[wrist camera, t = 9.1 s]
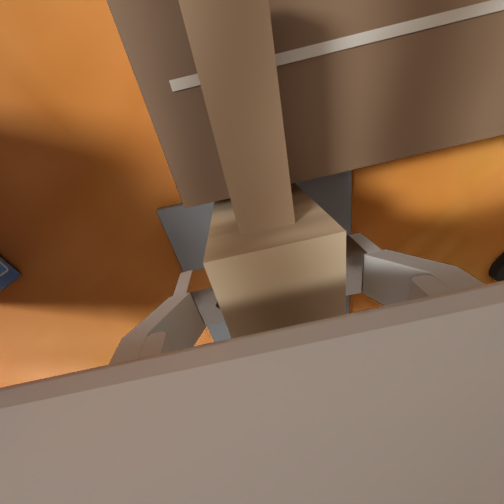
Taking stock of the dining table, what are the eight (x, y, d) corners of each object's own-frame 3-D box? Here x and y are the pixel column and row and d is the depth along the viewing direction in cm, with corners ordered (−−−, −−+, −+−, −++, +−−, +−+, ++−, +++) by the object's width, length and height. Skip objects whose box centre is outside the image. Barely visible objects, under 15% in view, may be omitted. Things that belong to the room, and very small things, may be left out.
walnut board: (764, -272, 7) (1040, -475, 4) (593, 99, 11) (685, 93, 9) (97, -89, 7) (36, -185, 5) (193, 192, 12) (184, 209, 9)
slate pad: (348, 164, 12) (351, 165, 11) (347, 318, 17) (349, 322, 17) (158, 208, 12) (156, 211, 12) (218, 345, 17) (218, 349, 17)
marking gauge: (274, 17, 8) (346, -152, 3) (302, 263, 14) (345, 347, 9) (168, 44, 8) (72, -79, 3) (238, 277, 14) (243, 369, 9)
